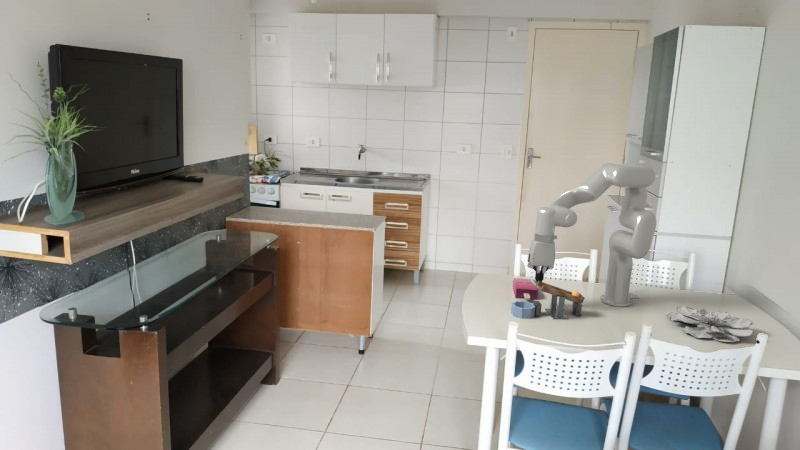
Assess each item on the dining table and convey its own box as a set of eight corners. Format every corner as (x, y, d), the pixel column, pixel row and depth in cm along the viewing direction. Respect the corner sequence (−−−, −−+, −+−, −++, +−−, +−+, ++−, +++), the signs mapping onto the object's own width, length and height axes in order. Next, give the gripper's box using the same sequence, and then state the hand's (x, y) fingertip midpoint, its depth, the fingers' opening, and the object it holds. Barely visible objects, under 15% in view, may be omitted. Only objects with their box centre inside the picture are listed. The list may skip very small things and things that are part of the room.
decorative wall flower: (705, 296, 244) (775, 322, 217) (703, 312, 245) (772, 339, 218) (652, 303, 232) (719, 332, 205) (650, 320, 233) (715, 350, 206)
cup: (529, 310, 236) (530, 301, 235) (536, 318, 227) (537, 308, 226) (509, 310, 235) (509, 300, 234) (515, 318, 226) (516, 308, 225)
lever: (569, 293, 242) (572, 286, 241) (581, 305, 229) (584, 297, 229) (530, 280, 239) (533, 273, 238) (541, 291, 226) (544, 283, 226)
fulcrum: (573, 310, 238) (576, 289, 236) (583, 319, 229) (586, 297, 227) (530, 309, 236) (532, 288, 234) (538, 319, 227) (540, 297, 225)
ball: (576, 298, 233) (579, 291, 233) (579, 301, 230) (582, 293, 230) (569, 296, 233) (571, 289, 232) (572, 299, 230) (574, 291, 229)
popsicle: (517, 292, 243) (513, 277, 263) (516, 303, 244) (512, 287, 264) (539, 294, 242) (533, 279, 262) (538, 305, 243) (532, 289, 263)
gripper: (558, 236, 236) (553, 279, 240) (522, 235, 234) (518, 278, 238) (565, 241, 229) (559, 285, 233) (528, 239, 227) (523, 284, 231)
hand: (538, 281), depth 235 cm, fingers closed
